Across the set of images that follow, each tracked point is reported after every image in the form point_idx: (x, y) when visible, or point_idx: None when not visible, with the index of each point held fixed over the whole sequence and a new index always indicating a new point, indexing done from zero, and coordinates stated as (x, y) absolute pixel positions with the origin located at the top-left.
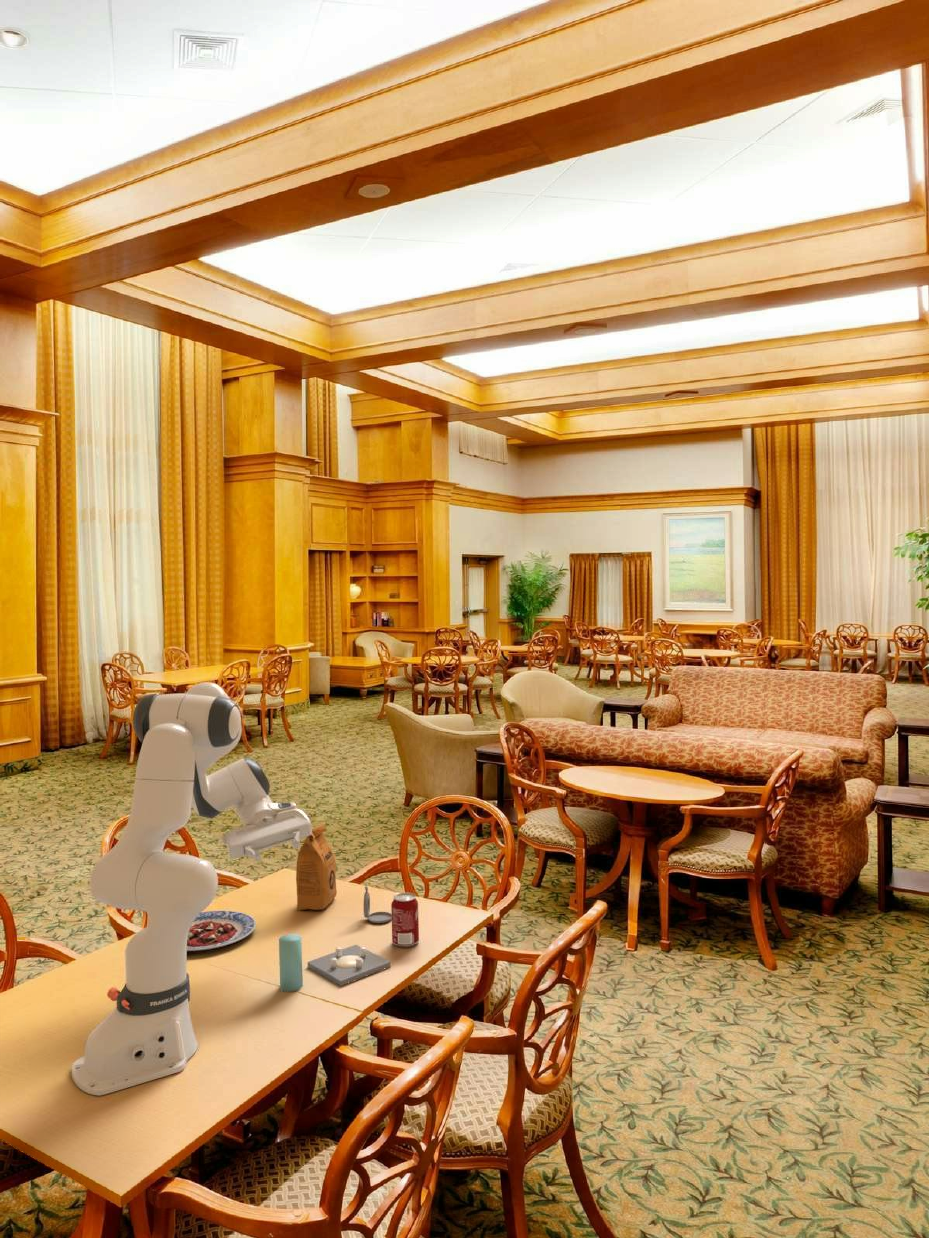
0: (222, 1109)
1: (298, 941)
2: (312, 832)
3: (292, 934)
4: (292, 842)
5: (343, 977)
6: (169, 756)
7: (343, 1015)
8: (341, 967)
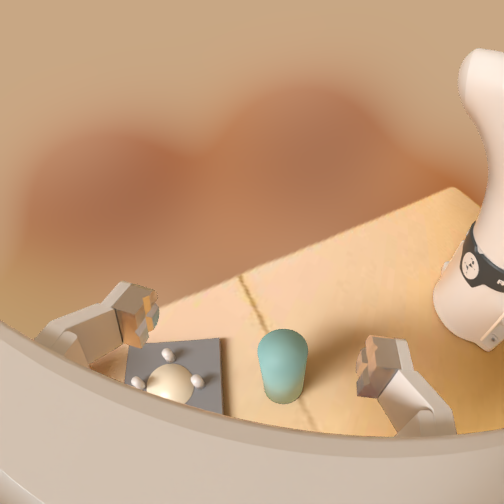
0: (407, 211)
1: (273, 331)
2: None
3: (269, 366)
4: (145, 312)
5: (209, 345)
6: None
7: (261, 277)
8: (191, 375)
